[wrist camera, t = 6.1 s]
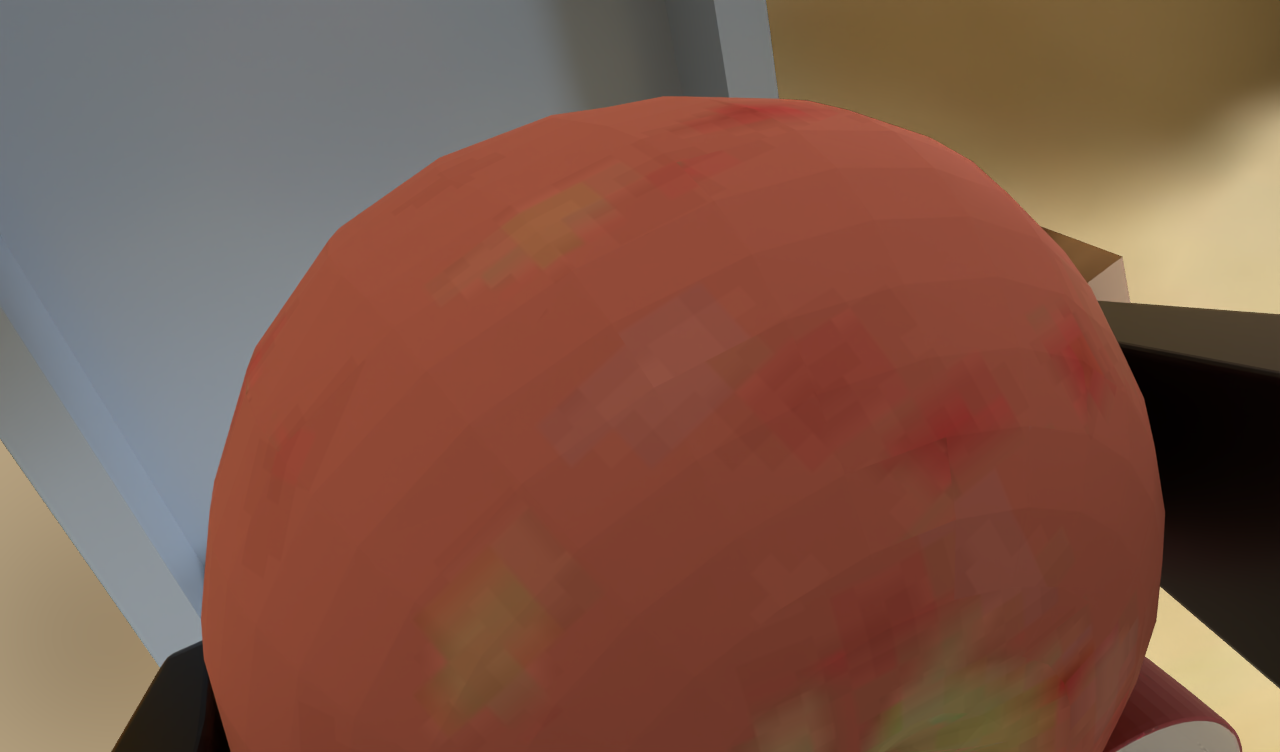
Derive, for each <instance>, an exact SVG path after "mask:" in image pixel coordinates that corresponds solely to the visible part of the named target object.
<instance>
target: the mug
mask: <svg viewBox="0 0 1280 752" xmlns="http://www.w3.org/2000/svg"><path fill="white" fill-rule="evenodd" d="M1103 752H1242V746H1241V743H1240V739H1239V737H1238V735H1237V733H1236V731H1235V730H1234V729H1233V728H1232V727H1231V726H1230V725H1229V724H1228V723H1227V722H1226V721H1225V720H1224V719H1223V718H1222V717H1220V716H1219V715H1218V714H1217V713H1215V712H1214V711H1213V710H1212V709H1211V708H1209V707H1208V706H1207V705H1206V704H1204V703H1203V702H1202V701H1201V700H1200V699H1198V698H1197V697H1196V696H1195V695H1193V694H1192V693H1191V692H1190V691H1189V690H1187V689H1186V688H1185V687H1184V686H1182V685H1181V684H1180V683H1179V682H1177V681H1176V680H1175V679H1173V678H1172V677H1171V676H1170V675H1168V674H1167V673H1166V672H1164V671H1163V670H1162V669H1161V668H1159V667H1158V666H1157V665H1155V664H1154V663H1153V662H1152V661H1150V660H1149V659H1148V658H1146V657H1144V660H1143V663H1142V666H1141V670H1140V673H1139V676H1138V679H1137V682H1136V685H1135V687H1134V689H1133V691H1132V693H1131V695H1130V697H1129V699H1128V701H1127V703H1126V705H1125V708H1124V710H1123V712H1122V714H1121V716H1120V718H1119V720H1118V722H1117V724H1116V726H1115V728H1114V730H1113V732H1112V734H1111V736H1110V738H1109V740H1108V742H1107V744H1106V746H1105V748H1104V750H1103Z"/></svg>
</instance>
